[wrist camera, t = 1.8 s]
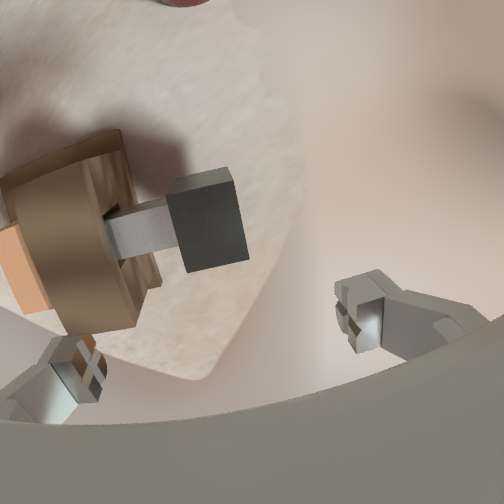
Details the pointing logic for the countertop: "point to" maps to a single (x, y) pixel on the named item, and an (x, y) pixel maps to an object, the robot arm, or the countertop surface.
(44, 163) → the shaft stand
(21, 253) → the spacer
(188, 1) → the soda can
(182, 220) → the shaft
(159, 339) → the countertop surface
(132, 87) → the countertop surface
